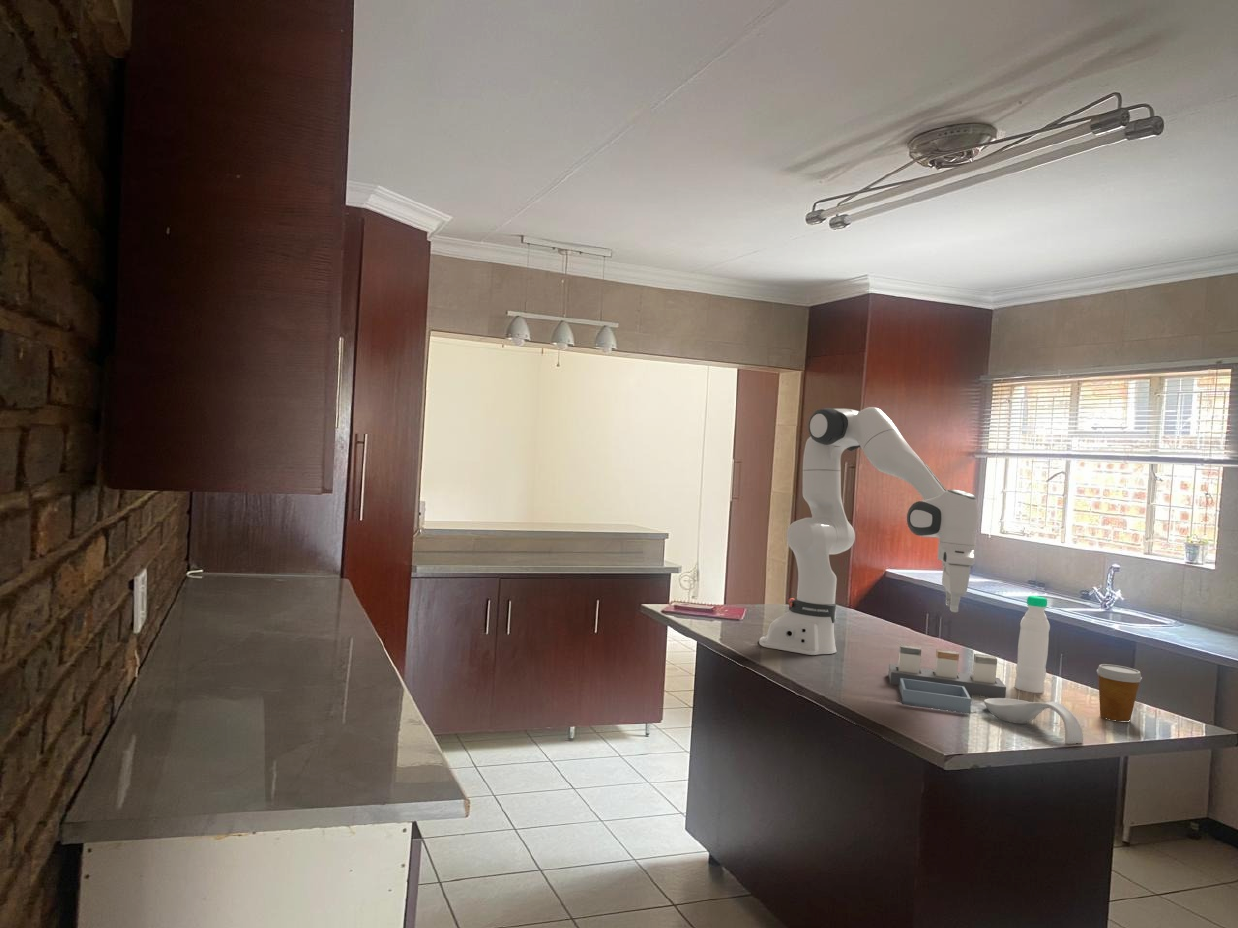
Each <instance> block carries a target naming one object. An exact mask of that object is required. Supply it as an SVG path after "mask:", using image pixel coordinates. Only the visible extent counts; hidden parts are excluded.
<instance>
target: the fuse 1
mask: <svg viewBox="0 0 1238 928" xmlns="http://www.w3.org/2000/svg"><path fill="white" fill-rule="evenodd" d="M921 658H922V647H921V646H916V645H907V644H899V650H898V663H897V665H898V671H904V672H911V673H919V672H920V668H921Z"/></svg>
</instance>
